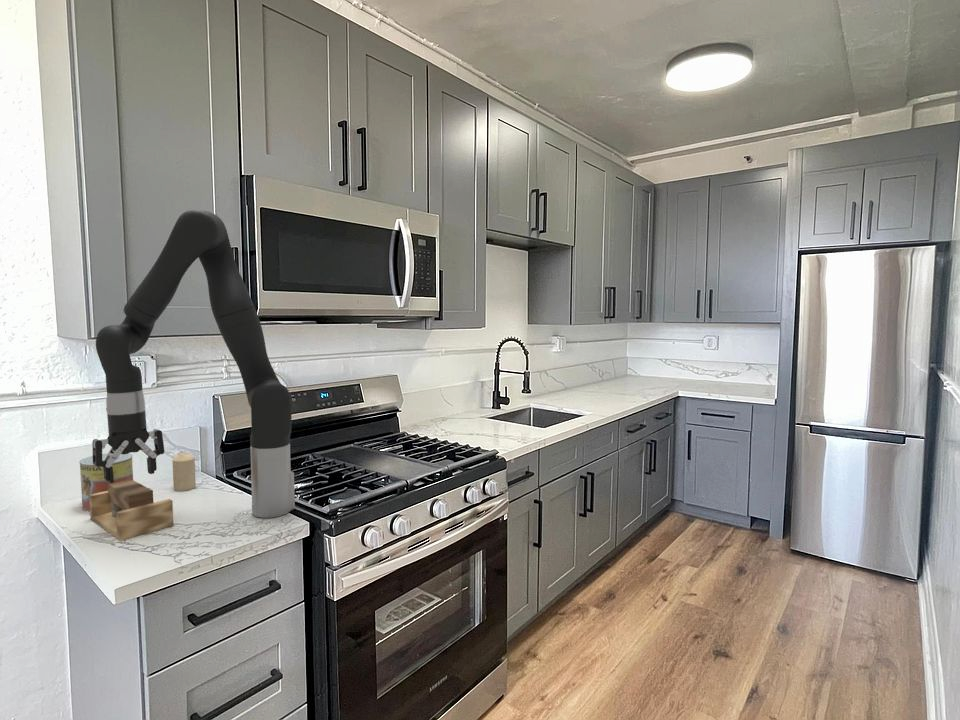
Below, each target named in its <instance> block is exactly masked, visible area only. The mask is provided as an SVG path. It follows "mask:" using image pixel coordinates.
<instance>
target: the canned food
mask: <svg viewBox="0 0 960 720" xmlns="http://www.w3.org/2000/svg"><path fill="white" fill-rule="evenodd" d="M107 454H108V453H102V461H104V459H105V458H106V457H107ZM78 463H79V468H80V470H79V471H80V489H81V509H82V510H83V511H85V512H89V513H90V501H89V495H90V494H95V493H100V492H104V491H108V484H111V483H109V482H108V481H106V480H105V479H104V473H103V467H97V466H96V465H94V464H93V455H92V456H87V457H85V458H82V459H81V460H79V462H78ZM111 467H113V477H114V482H113V483H116V482H120V481H125V480H130V479H132V480H134V469H133V467H134V466H133V454H131V453H128V454H124V455H123V454H120V456H119V457H118V458H117V459H116V460H115V461H114V463H113V464H112V466H111Z"/></svg>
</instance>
